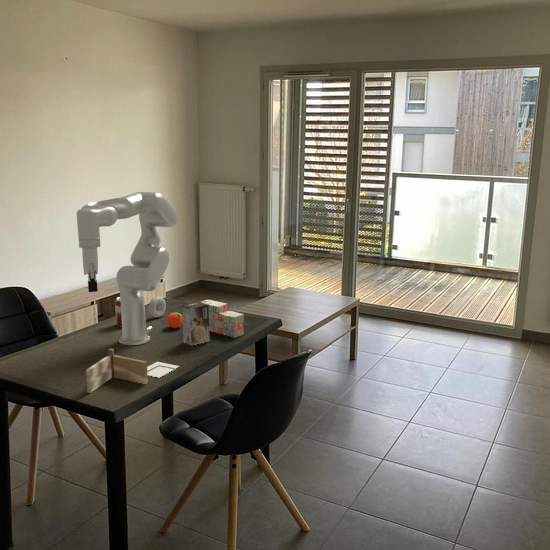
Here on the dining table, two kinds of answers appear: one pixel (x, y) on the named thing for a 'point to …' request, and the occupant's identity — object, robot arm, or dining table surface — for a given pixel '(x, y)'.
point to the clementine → (174, 320)
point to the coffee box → (195, 323)
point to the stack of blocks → (224, 319)
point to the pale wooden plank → (98, 374)
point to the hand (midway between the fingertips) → (93, 291)
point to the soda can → (118, 312)
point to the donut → (152, 307)
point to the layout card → (160, 369)
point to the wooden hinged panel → (128, 368)
